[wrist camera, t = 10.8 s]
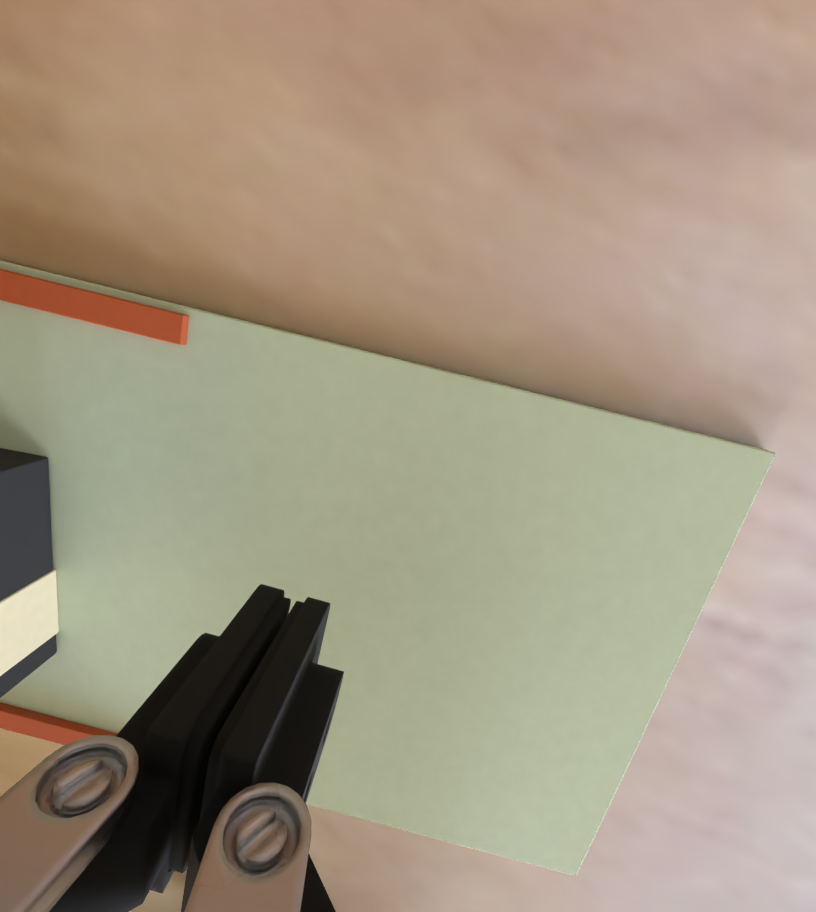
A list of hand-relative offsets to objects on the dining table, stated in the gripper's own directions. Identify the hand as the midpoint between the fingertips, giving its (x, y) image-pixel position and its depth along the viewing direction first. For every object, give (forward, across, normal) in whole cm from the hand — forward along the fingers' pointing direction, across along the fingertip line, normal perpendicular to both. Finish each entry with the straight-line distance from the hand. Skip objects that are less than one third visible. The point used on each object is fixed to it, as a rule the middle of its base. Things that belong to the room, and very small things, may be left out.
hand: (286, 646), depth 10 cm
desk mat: (+4, +3, +1) cm, 5 cm away
